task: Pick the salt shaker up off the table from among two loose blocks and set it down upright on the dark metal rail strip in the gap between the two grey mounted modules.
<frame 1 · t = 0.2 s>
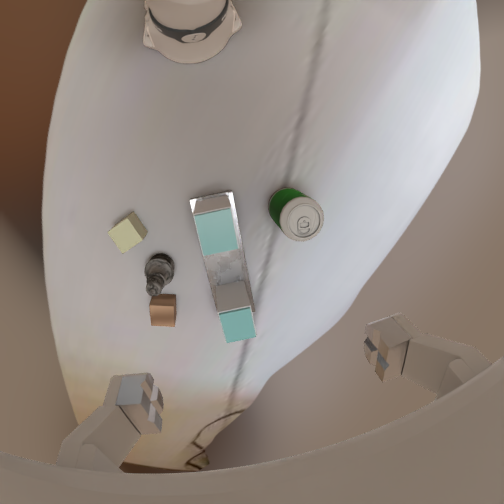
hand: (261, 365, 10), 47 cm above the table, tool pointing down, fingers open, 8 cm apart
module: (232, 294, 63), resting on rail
block walnut: (164, 303, 61), on the table
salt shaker: (161, 265, 58), on the table
block olive: (131, 228, 54), on the table
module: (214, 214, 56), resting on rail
soda can: (285, 205, 57), on the table
rail: (224, 256, 59), on the table
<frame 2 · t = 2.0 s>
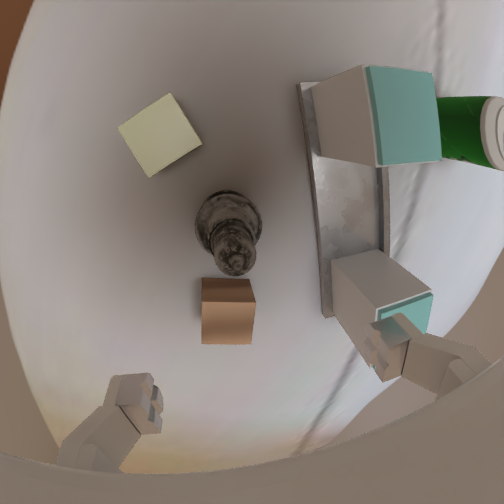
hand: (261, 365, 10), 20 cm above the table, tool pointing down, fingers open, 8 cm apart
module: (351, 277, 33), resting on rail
block walnut: (224, 298, 32), on the table
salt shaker: (226, 216, 29), on the table
block olive: (167, 136, 25), on the table
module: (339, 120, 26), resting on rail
soda can: (435, 127, 28), on the table
rail: (348, 203, 30), on the table
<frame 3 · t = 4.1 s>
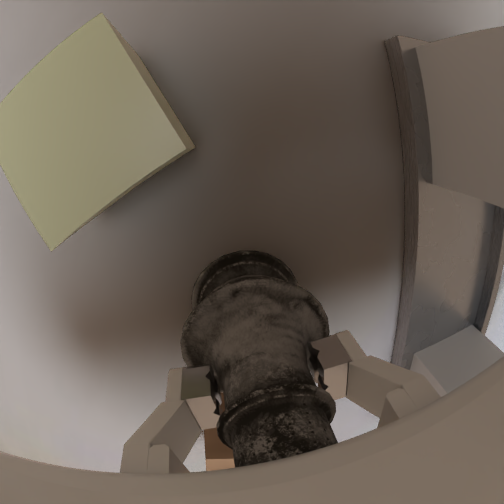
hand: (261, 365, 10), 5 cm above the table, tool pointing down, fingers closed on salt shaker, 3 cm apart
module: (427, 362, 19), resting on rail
block walnut: (240, 414, 18), on the table
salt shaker: (245, 299, 14), on the table, touching gripper
block olive: (116, 132, 11), on the table
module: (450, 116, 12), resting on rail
rail: (448, 262, 15), on the table
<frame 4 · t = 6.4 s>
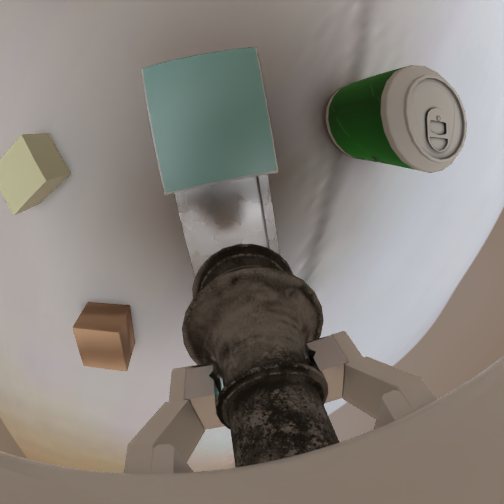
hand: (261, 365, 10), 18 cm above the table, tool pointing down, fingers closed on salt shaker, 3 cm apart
block walnut: (111, 322, 29), on the table
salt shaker: (243, 290, 15), point 13 cm above the table, touching gripper
block olive: (43, 168, 22), on the table
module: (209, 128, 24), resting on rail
soda can: (355, 121, 25), on the table
rail: (227, 225, 27), on the table
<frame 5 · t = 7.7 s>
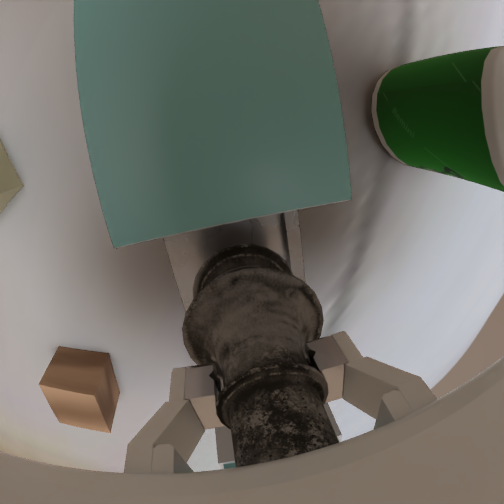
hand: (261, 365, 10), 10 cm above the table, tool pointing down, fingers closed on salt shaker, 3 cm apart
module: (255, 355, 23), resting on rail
block walnut: (89, 370, 21), on the table
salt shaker: (244, 290, 15), point 5 cm above the table, touching gripper
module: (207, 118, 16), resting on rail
soda can: (404, 116, 17), on the table
rail: (234, 255, 19), on the table
when the fingers open (7 cm above the table, at t = 8.6 s): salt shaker stays where it is, resting on rail.
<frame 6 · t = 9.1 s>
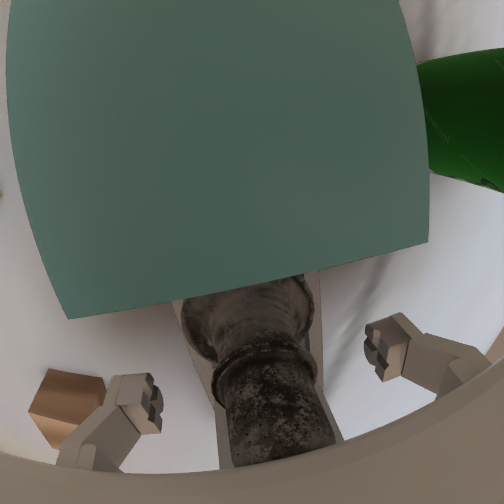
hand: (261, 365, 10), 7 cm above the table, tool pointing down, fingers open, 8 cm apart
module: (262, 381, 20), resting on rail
block walnut: (82, 393, 19), on the table
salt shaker: (239, 281, 16), point 1 cm above the table, touching rail
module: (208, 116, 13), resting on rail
soda can: (428, 117, 15), on the table
rail: (239, 276, 17), on the table
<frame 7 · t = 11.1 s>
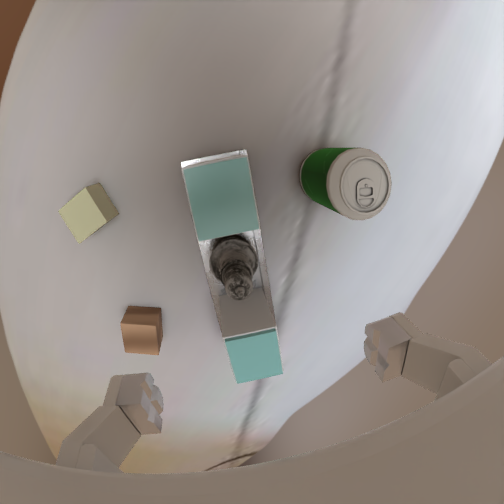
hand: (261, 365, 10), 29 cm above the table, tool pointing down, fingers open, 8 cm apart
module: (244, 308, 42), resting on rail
block walnut: (145, 320, 41), on the table
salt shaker: (231, 252, 38), point 1 cm above the table, touching rail
block olive: (96, 208, 35), on the table
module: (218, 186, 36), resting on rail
soda can: (322, 175, 38), on the table
rail: (232, 251, 39), on the table
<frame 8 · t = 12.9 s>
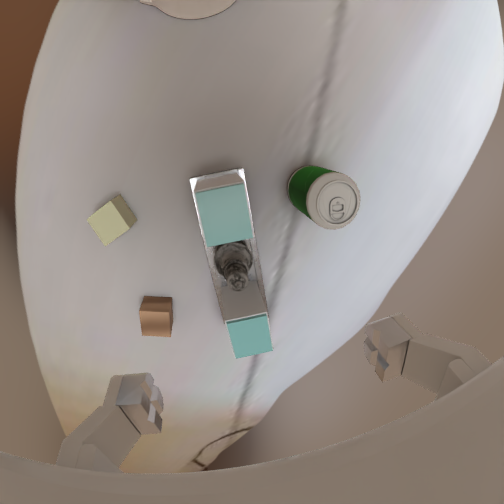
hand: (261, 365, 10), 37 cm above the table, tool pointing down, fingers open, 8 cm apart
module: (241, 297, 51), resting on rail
block walnut: (158, 308, 50), on the table
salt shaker: (231, 252, 47), point 1 cm above the table, touching rail
block olive: (117, 215, 43), on the table
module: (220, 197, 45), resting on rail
soda can: (307, 187, 46), on the table
rail: (231, 250, 48), on the table
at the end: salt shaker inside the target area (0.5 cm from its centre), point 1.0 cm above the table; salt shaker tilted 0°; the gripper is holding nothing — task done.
